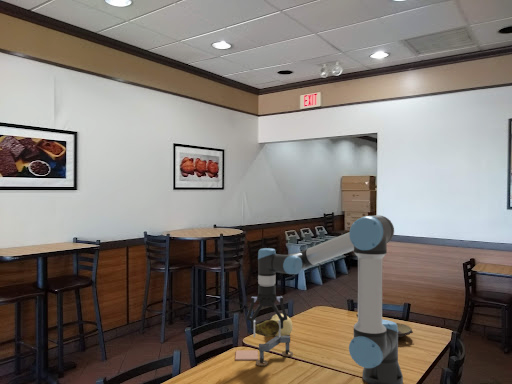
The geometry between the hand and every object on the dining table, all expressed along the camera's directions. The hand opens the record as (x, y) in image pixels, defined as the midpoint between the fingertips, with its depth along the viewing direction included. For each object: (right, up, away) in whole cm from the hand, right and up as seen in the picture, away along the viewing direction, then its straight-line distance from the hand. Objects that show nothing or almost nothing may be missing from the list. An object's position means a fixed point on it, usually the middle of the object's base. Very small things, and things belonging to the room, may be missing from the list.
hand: (267, 336), depth 178 cm
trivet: (-9, -12, +8) cm, 17 cm away
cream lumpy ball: (+8, -12, +37) cm, 39 cm away
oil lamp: (+62, -12, +36) cm, 73 cm away
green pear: (0, -1, 0) cm, 1 cm away
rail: (+4, -12, +4) cm, 13 cm away
